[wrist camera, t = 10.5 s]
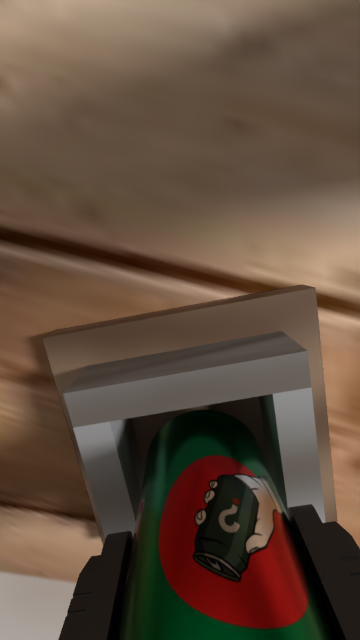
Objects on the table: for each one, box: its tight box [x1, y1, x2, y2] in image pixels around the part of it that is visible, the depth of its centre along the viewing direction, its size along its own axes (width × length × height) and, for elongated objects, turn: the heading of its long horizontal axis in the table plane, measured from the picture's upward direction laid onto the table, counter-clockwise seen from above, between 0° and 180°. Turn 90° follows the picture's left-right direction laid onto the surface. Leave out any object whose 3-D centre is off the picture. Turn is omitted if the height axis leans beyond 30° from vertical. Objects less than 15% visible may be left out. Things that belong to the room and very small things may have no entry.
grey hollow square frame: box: [42, 285, 337, 546], centre depth 15 cm, size 13×13×4 cm
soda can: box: [116, 410, 337, 640], centre depth 8 cm, size 5×5×12 cm
